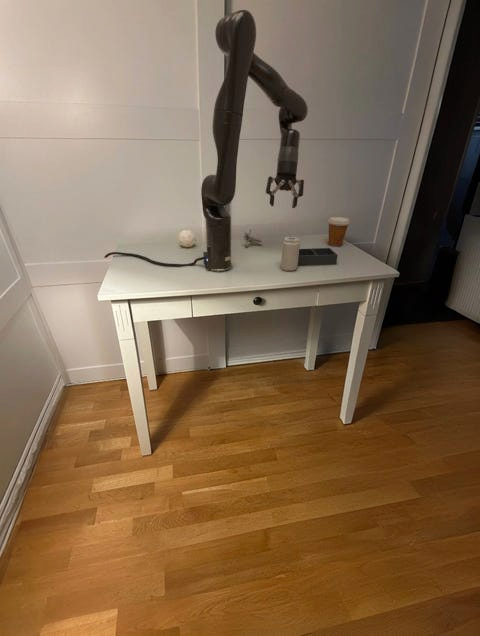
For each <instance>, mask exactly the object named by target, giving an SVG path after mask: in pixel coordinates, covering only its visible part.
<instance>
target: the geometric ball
mask: <svg viewBox="0 0 480 636" xmlns="http://www.w3.org/2000/svg"><path fill="white" fill-rule="evenodd" d="M177 239H178V243H179V244H180V245H181V246H182V247H184V248H191V247H193V246H194V245H195V243H196V240H197V239H196V236H195V233H194V232H193V231H191V230H190V229H183V230H181V232H180V233H179V234H178V238H177Z"/></svg>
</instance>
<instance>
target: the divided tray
mask: <svg viewBox="0 0 480 636" xmlns="http://www.w3.org/2000/svg"><path fill="white" fill-rule="evenodd" d="M337 262H338V254H337V253H336V252H335V251H334V250H333V249H332V248H331V247H315V248H314V247H313V248H299V257H298V266H297V267H304V266H306V267H307V266H326V265H327V266H332V265H333V266H335V265H337Z"/></svg>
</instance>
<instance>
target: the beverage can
mask: <svg viewBox="0 0 480 636" xmlns="http://www.w3.org/2000/svg"><path fill="white" fill-rule="evenodd" d="M300 244H301V242H300V238H299V237H297V236H286V237H284V238H283V241H282V248H281V258H280V259H281V260H280V269H282V270H283V271H285V272H294V271H295V270H297V269H298V267H299V266H298V257H299V249H301V247H300V246H301V245H300Z"/></svg>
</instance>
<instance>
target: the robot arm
mask: <svg viewBox="0 0 480 636" xmlns="http://www.w3.org/2000/svg"><path fill="white" fill-rule="evenodd" d="M214 32H215V33H214V35H215V42H216V45H217V48H219V50H220V51H221V53H222V54H223V55H224V56H225V57H226V58H228V60H227V61H228V62H227V70H226V72H225V76H224V78H223V81H222V83H221V85H220V88H219V90H218V93H217V95H216V98H215V101H214V105H213V114H212V115H213V116H212V123H211V125H212V127H211V130H212V137H213V141H214V145H215V146H214V147H215V151H216V155H217V160H216V161H217V163H216V172H215V173H216V174H208V175H206V176H205V177H204V178H203V180H202V183H201V187H200V197H201V206H202V214H203V217H204V220H205V235H206V239H205V240H206V242H205V243H206V251H203V253H202V255H203V256H201V257H198V258H196V259H194V260H193V262H189V263H169V262H167V263H166V262H160V261H157V260H154V259H151V258H149V257H147V256H144V255H141V254H137V253H131V252H121V251H112V252H108V253H106V254H105V255H104V256H103V258H104V259H107V258H109V257H110V256H112V255H121V256H127V257H128V256H129V257H135V258H140V259H143V260H144V261H147V262H150V263H152V264H155V265H159V266H165V267H190V266H191V267H192V266H194V265H196V264H197V262H199V261H203V265H206V266H207V267H206V268H207V271H212V272H218V273H219V272H227V271H229V270H231V269H232V216H231V214H230V213H229V212H228V210H227V209H226V206H228V205H230V204H231V203H232V201H233V200H234V197H235V195H236V189H237V188H236V187H237V166H238V153H239V148H240V147H239V146H240V137H241V133H242V126H243V117H244V108H245V100H246V93H247V87H248V82H249V81H248V80H249V79H251V81H252V82H254V84H255V85H257V87H258V88H259V89H260V90H261V92H262V93H263V94H264V95H265V97H266V98H267V99H268V101H270V102H271V104H272V105H273V106H274V107H276V108H279V109H278V113H277V114H278V115H277V117H278V125H279V132H280V142H279V150H278V155H277V165H276V175H275V177H272V176H269V177H267V179H266V180H267V181H266V188H265V194H266V195H269V205H270V207H274V205H275V194H276V193H277V192H278V191H285V192H289V191H290V193H291V195H292V205H291V208H292V209H295V208H297V206H298V199H299V198H301V197H303V196H304V189H305V180H304V179H297V172H298V163H299V148H300V139H301V133H300V131H299V130H298V129H294V128H293V124H296V123H300V122H303V121H305V120H306V118H307V116H308V114H309V113H308V111H309V109H308V104H307V102H306V100H305V99H304V98H303V96H301V95H300V94H299V93H297V92H296V91H295V90H294V89H292V88H291V87H289V86H288V84H287V83H286V81H285V80H284V78H283V76H282V75H281V74H280V73H279V72H278V71H277V70H276V69H275V68H274V67H273V66H272V65H271V64H269V63H268V62H266V61H264V59H262V58H261V57H260V56H258V55H257V54H256V53H255V47H256V42H257V25H256V21H255V17H254V16H253V14H252V13H251V11H249V10H247V9H239V10H236V11H234V12H232V13H229V14H227V15H224V16H223V17H221V18H220V19H219V21H218V22H217V23H216V26H215V30H214ZM273 183H275V185H276V186H275V187H274V189H273V190H271V187H272V184H273ZM295 185H297V186H298V192H297V189H296V187H295Z"/></svg>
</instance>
